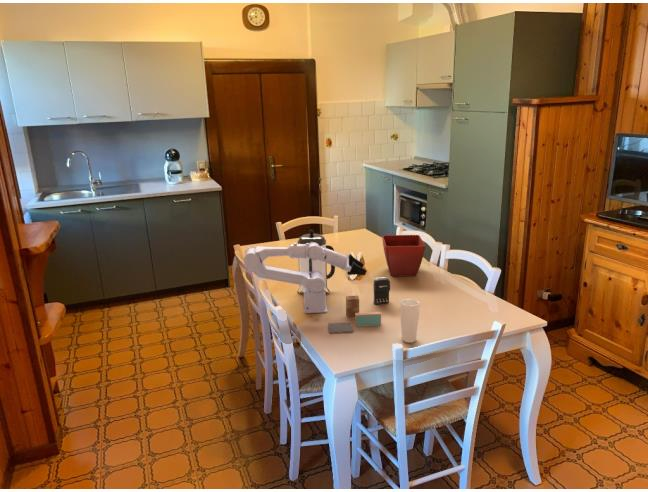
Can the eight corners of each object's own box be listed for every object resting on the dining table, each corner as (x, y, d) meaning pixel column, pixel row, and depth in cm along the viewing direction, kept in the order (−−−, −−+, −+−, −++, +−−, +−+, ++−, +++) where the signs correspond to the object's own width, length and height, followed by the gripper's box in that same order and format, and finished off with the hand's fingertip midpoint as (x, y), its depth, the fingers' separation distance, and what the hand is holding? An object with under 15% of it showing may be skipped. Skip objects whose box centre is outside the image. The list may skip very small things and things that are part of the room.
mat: (329, 333, 188) (329, 332, 188) (328, 324, 196) (328, 323, 195) (353, 332, 189) (353, 330, 189) (351, 323, 196) (351, 322, 196)
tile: (355, 327, 193) (355, 315, 192) (355, 324, 195) (355, 313, 194) (381, 325, 194) (381, 314, 193) (380, 323, 196) (380, 311, 194)
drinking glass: (416, 335, 185) (417, 298, 181) (420, 343, 179) (421, 305, 175) (398, 335, 185) (398, 298, 181) (401, 344, 179) (402, 306, 174)
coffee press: (328, 300, 218) (327, 235, 210) (293, 298, 222) (290, 233, 213) (335, 286, 235) (334, 224, 226) (302, 284, 238) (300, 223, 229)
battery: (375, 305, 212) (375, 280, 209) (372, 302, 216) (372, 277, 212) (390, 304, 213) (391, 279, 210) (388, 300, 217) (388, 276, 213)
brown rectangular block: (347, 317, 201) (346, 299, 199) (346, 314, 205) (345, 296, 202) (359, 317, 202) (359, 299, 199) (358, 313, 205) (358, 295, 203)
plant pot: (424, 278, 241) (425, 245, 236) (385, 279, 242) (385, 246, 237) (418, 265, 259) (419, 234, 255) (381, 266, 260) (381, 235, 255)
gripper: (340, 255, 196) (371, 267, 199) (336, 244, 210) (365, 255, 212) (333, 271, 198) (364, 282, 200) (329, 259, 212) (358, 269, 214)
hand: (364, 269), depth 207 cm, fingers open, 7 cm apart
